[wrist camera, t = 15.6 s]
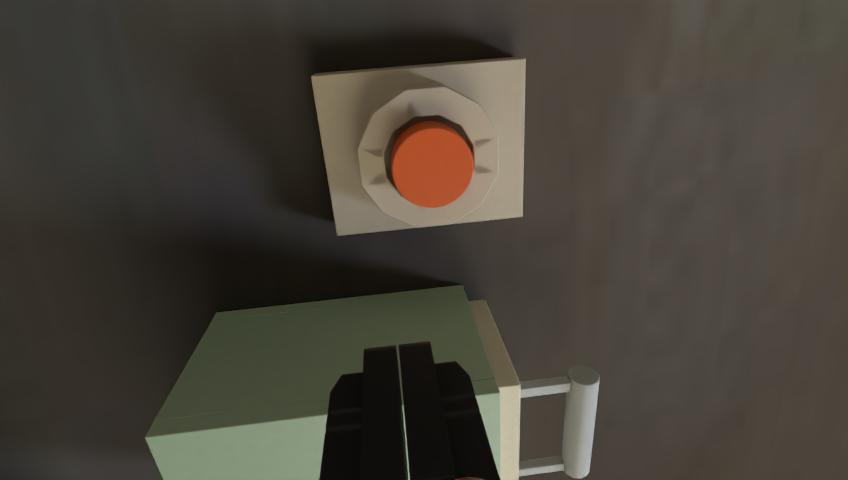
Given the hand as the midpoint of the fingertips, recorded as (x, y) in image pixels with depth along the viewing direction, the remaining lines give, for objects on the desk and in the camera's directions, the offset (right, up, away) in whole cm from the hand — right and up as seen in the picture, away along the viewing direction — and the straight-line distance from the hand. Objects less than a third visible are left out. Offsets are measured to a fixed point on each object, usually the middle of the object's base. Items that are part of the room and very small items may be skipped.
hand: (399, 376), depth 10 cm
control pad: (+1, +8, +14) cm, 16 cm away
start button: (+1, +7, +11) cm, 13 cm away
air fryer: (-4, -6, +20) cm, 21 cm away
